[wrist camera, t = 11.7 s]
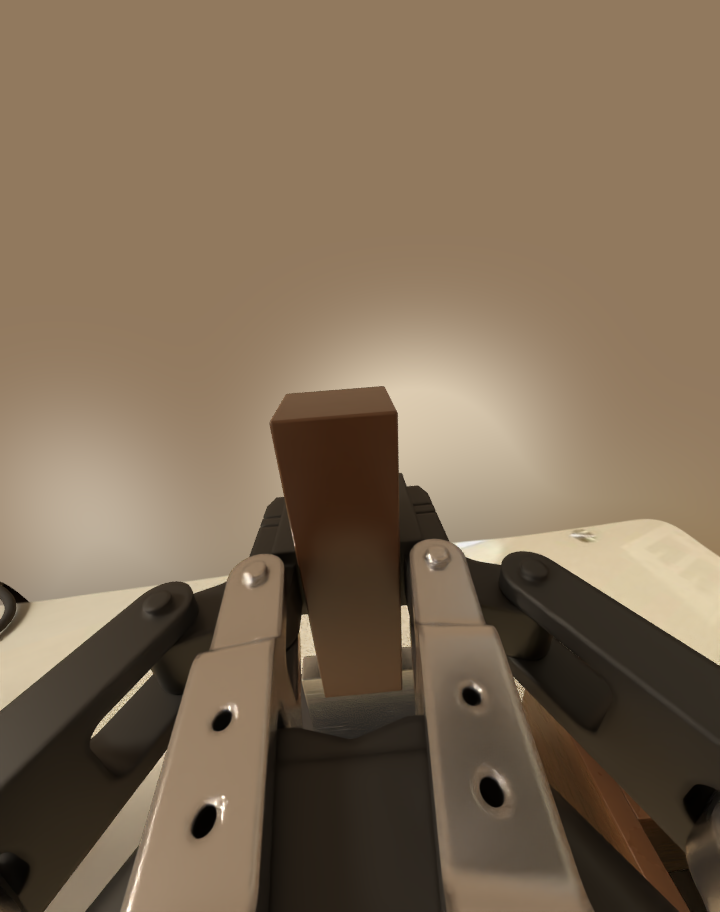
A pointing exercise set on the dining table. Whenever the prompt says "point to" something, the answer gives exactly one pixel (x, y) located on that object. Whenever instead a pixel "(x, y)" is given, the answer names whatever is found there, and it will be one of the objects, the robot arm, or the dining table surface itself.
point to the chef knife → (347, 554)
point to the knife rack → (605, 803)
